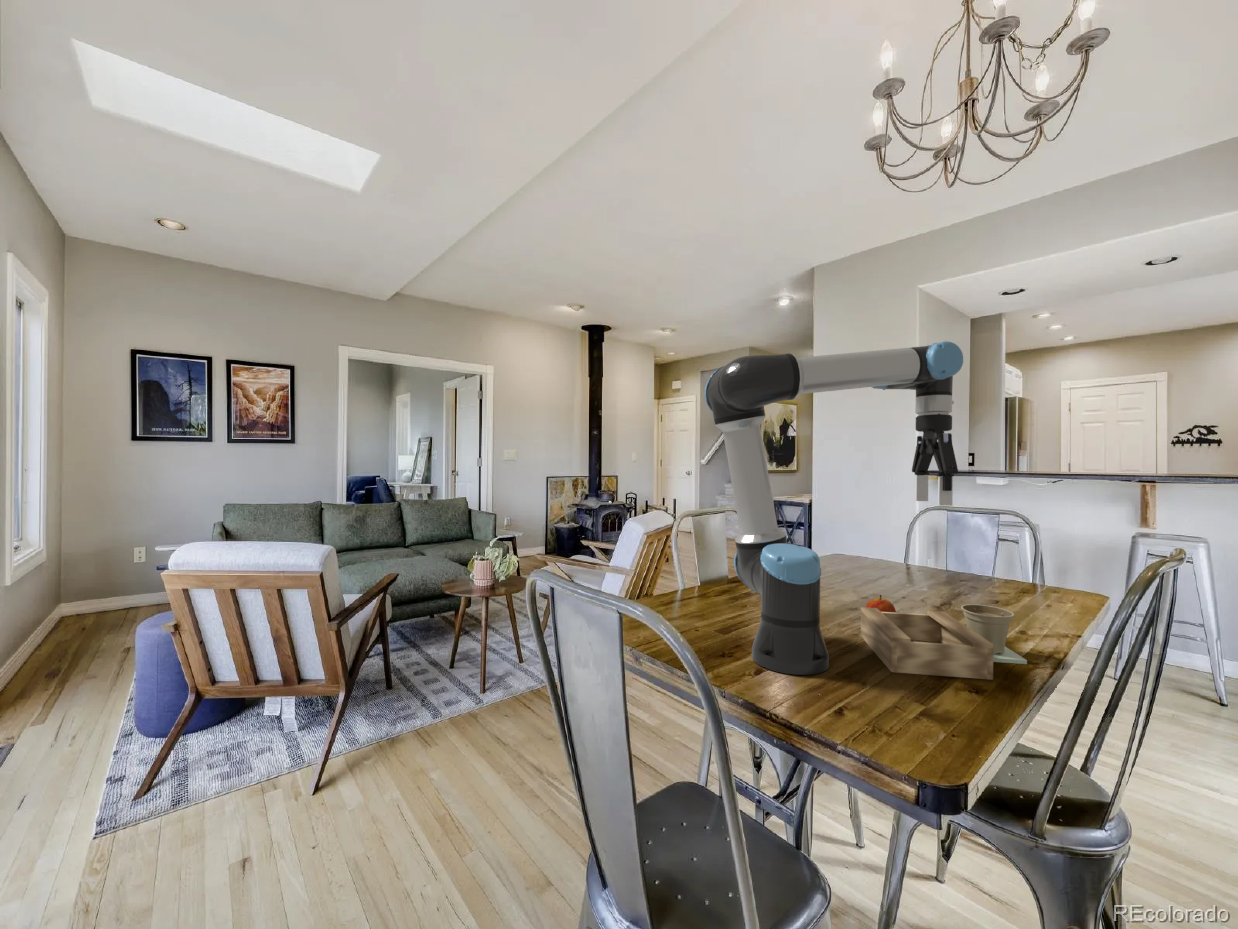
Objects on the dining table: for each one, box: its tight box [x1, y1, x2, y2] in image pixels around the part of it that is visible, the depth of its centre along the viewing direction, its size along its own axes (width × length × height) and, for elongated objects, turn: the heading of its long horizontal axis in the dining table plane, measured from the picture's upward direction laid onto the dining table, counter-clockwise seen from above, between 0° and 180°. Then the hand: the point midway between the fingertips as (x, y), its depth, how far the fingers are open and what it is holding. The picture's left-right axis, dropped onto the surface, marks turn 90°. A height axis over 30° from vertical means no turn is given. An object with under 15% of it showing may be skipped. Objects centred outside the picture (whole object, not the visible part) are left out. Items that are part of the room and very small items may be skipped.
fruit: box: [865, 594, 897, 613], centre depth 132 cm, size 7×7×8 cm
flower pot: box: [960, 603, 1015, 654], centre depth 113 cm, size 9×9×9 cm
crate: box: [860, 606, 994, 681], centre depth 112 cm, size 18×22×7 cm
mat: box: [993, 646, 1028, 665], centre depth 113 cm, size 10×10×1 cm
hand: (932, 503), depth 125 cm, fingers open, 13 cm apart
